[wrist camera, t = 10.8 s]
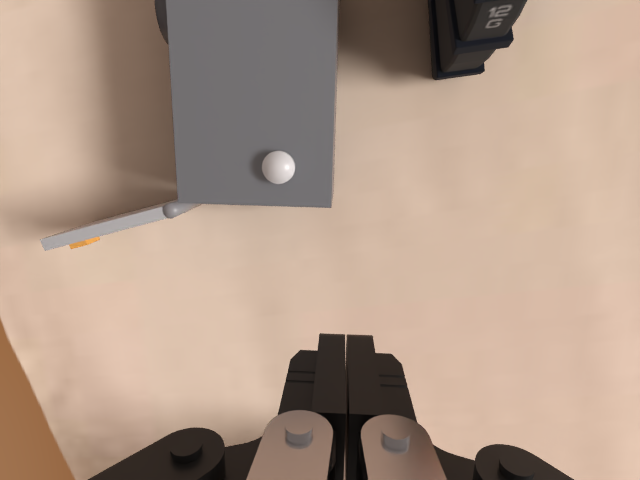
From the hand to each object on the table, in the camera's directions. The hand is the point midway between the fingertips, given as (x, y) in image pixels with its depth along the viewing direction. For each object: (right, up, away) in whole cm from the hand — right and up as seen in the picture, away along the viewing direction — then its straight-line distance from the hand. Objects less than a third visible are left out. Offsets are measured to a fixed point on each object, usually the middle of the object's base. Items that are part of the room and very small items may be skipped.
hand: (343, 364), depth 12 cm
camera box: (-5, +17, +26) cm, 31 cm away
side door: (-18, +6, +29) cm, 34 cm away
